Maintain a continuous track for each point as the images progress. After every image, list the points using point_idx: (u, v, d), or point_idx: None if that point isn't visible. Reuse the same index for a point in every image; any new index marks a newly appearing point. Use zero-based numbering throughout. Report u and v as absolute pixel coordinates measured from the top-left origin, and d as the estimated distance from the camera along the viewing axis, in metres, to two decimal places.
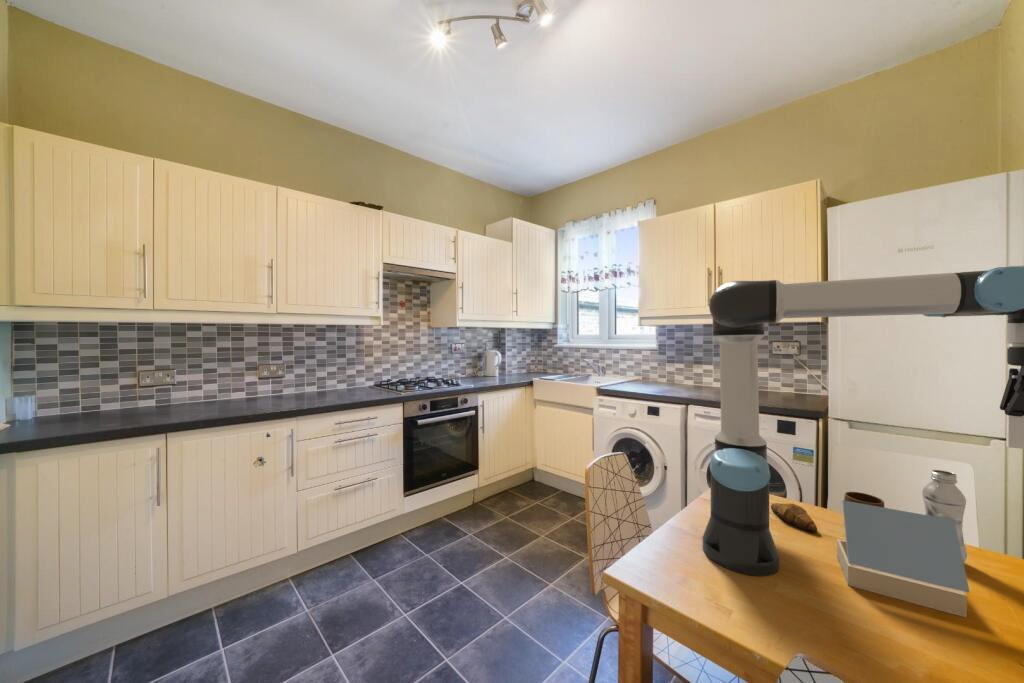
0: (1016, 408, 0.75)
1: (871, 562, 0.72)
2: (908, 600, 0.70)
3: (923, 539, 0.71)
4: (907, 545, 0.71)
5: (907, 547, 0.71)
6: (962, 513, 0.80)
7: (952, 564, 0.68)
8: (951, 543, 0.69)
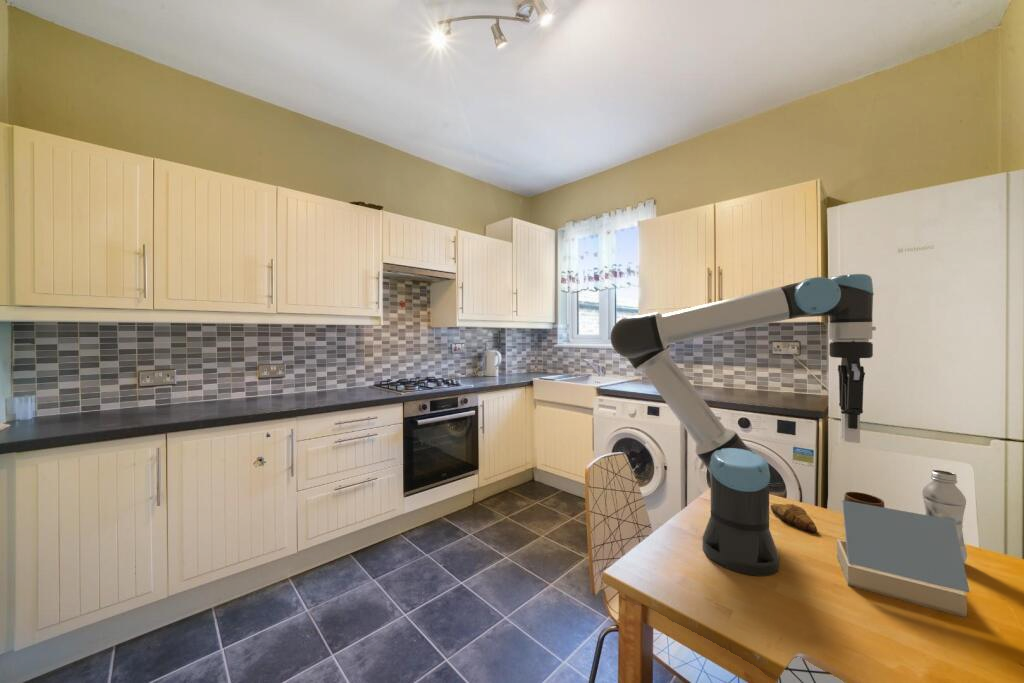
0: None
1: (871, 562, 0.72)
2: (908, 600, 0.70)
3: (923, 539, 0.71)
4: (907, 545, 0.71)
5: (907, 547, 0.71)
6: (962, 513, 0.80)
7: (952, 564, 0.68)
8: (951, 543, 0.69)
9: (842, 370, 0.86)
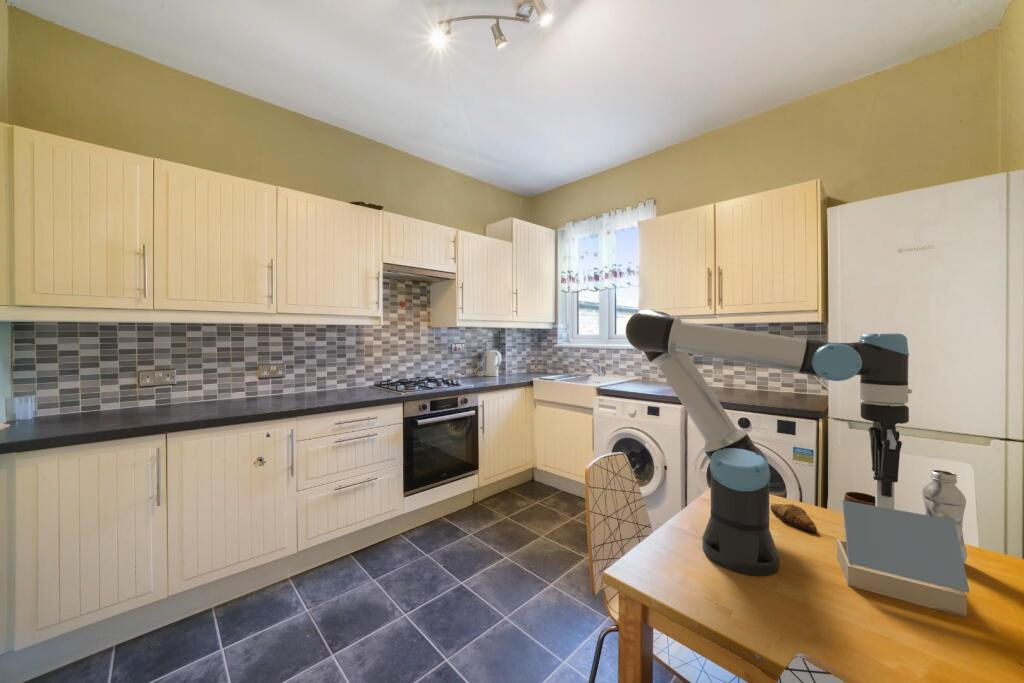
0: None
1: (871, 562, 0.72)
2: (908, 600, 0.70)
3: (923, 539, 0.71)
4: (907, 545, 0.71)
5: (907, 547, 0.71)
6: (962, 513, 0.80)
7: (952, 564, 0.68)
8: (951, 543, 0.69)
9: (875, 435, 0.80)
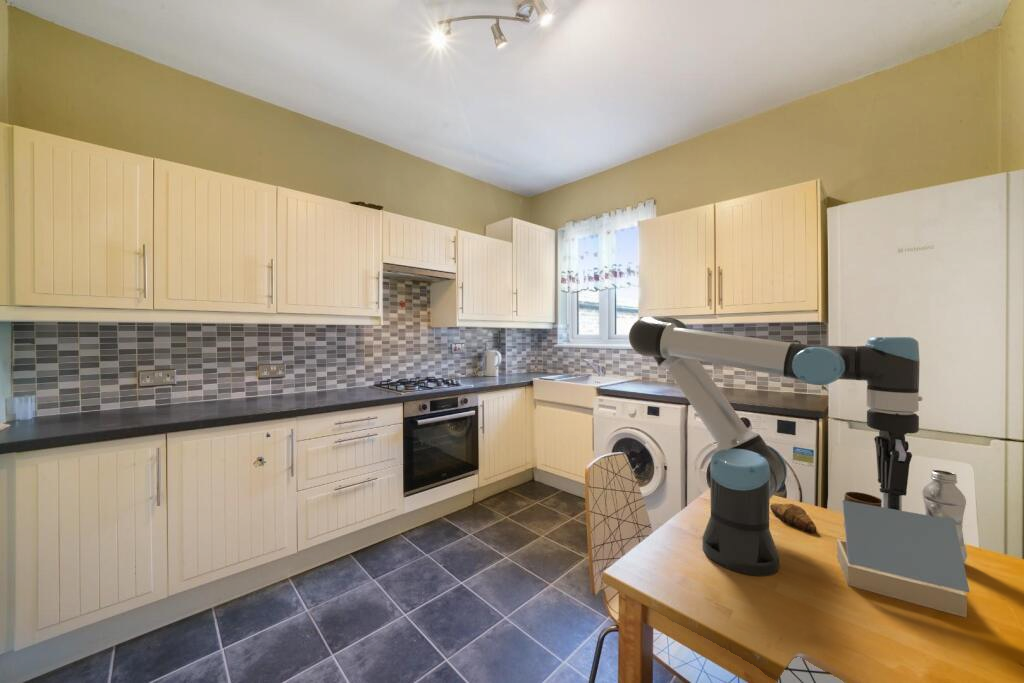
0: None
1: (871, 562, 0.72)
2: (908, 600, 0.70)
3: (923, 539, 0.71)
4: (907, 545, 0.71)
5: (907, 547, 0.71)
6: (962, 513, 0.80)
7: (952, 564, 0.68)
8: (951, 543, 0.69)
9: (883, 445, 0.76)
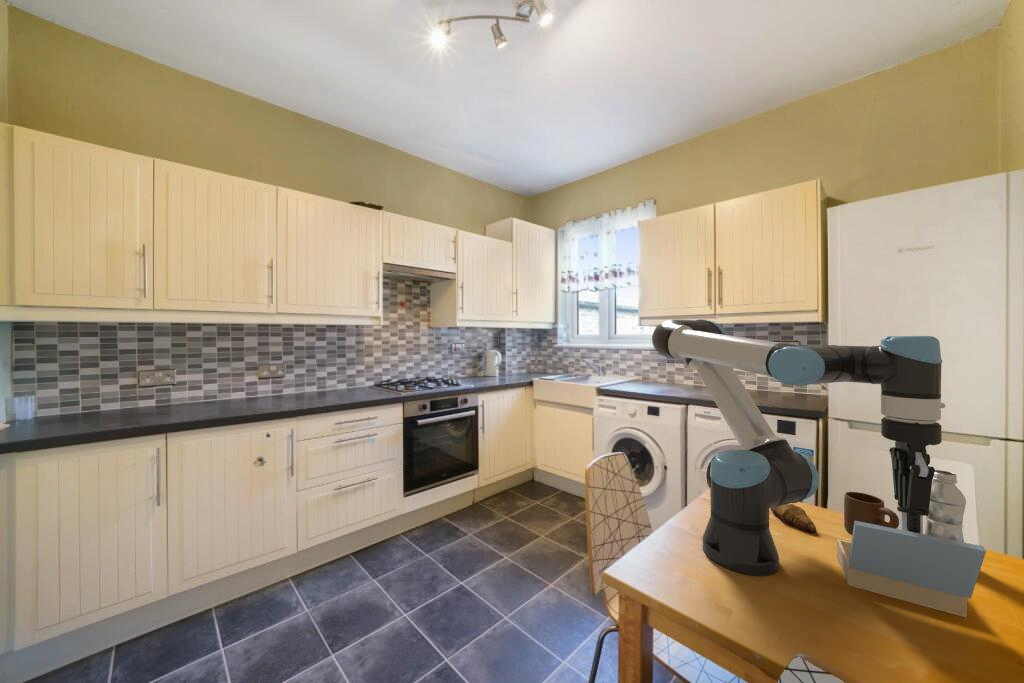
0: None
1: (873, 570, 0.71)
2: (908, 600, 0.70)
3: (939, 561, 0.65)
4: (918, 563, 0.67)
5: (917, 564, 0.67)
6: (962, 513, 0.80)
7: (962, 580, 0.64)
8: (971, 567, 0.63)
9: (900, 458, 0.67)
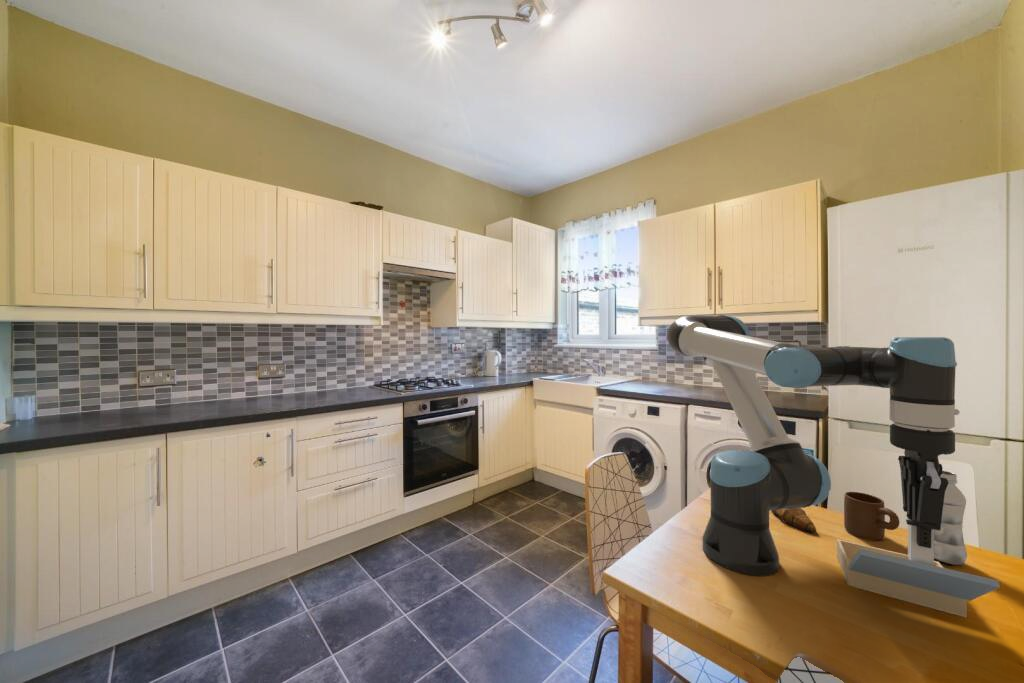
0: None
1: (873, 574, 0.71)
2: (908, 600, 0.70)
3: (945, 582, 0.63)
4: (921, 579, 0.65)
5: (920, 580, 0.65)
6: (962, 513, 0.80)
7: (966, 593, 0.63)
8: (979, 590, 0.60)
9: (910, 467, 0.63)
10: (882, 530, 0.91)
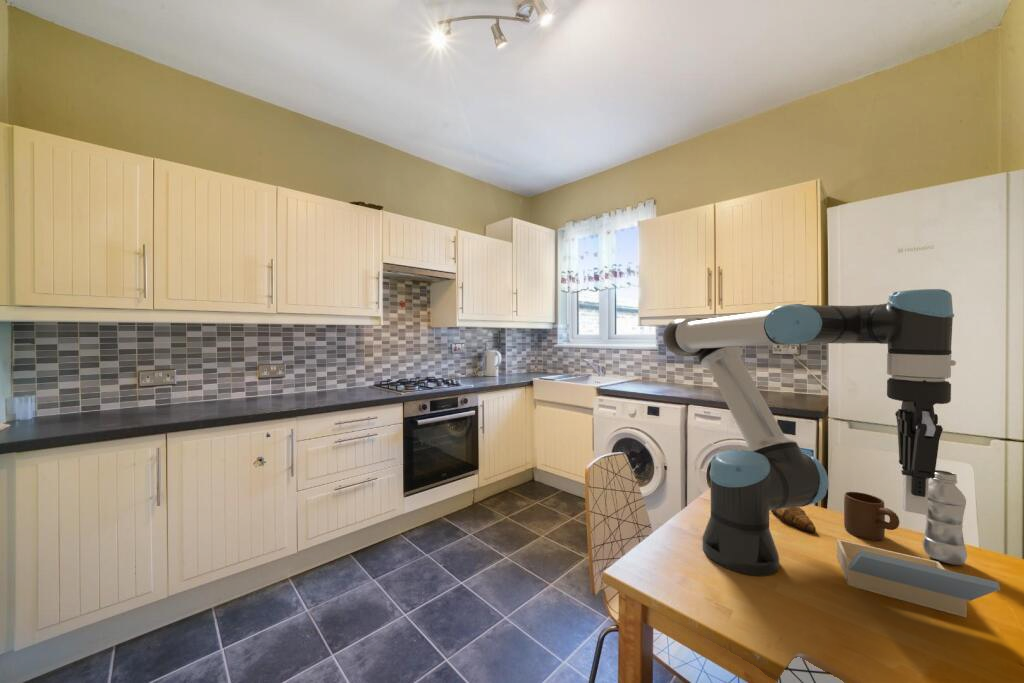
0: None
1: (873, 574, 0.71)
2: (908, 600, 0.70)
3: (945, 583, 0.63)
4: (922, 580, 0.65)
5: (921, 580, 0.65)
6: (962, 513, 0.80)
7: (966, 594, 0.63)
8: (979, 591, 0.60)
9: (906, 418, 0.64)
10: (882, 530, 0.91)
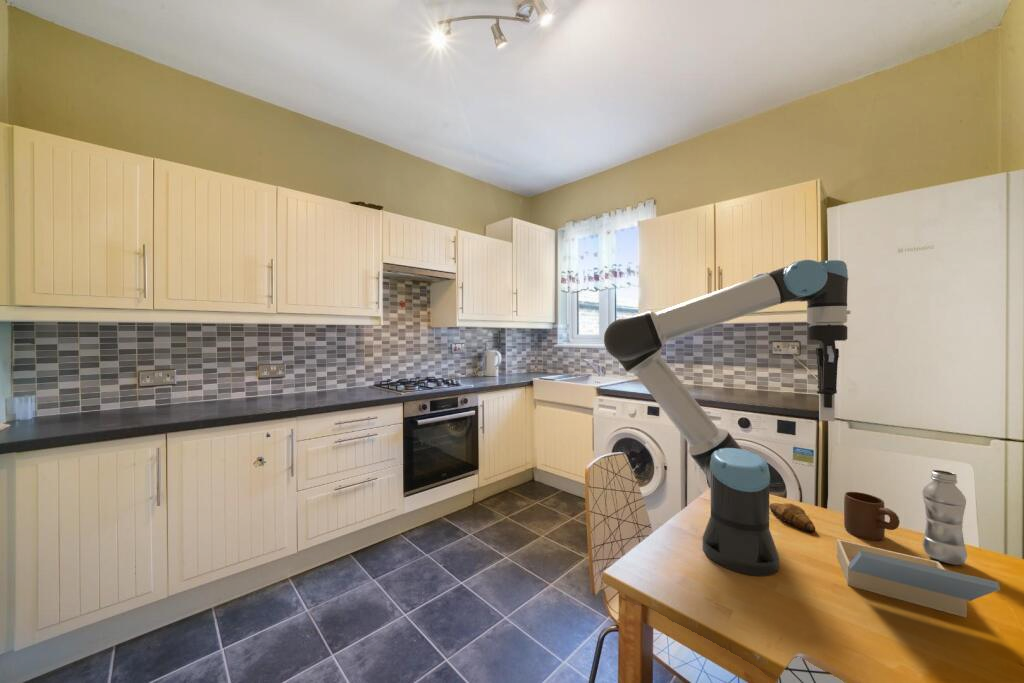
0: None
1: (873, 574, 0.71)
2: (908, 600, 0.70)
3: (945, 583, 0.63)
4: (922, 580, 0.65)
5: (921, 580, 0.65)
6: (962, 513, 0.80)
7: (966, 594, 0.63)
8: (979, 591, 0.60)
9: (819, 353, 0.90)
10: (882, 530, 0.91)
